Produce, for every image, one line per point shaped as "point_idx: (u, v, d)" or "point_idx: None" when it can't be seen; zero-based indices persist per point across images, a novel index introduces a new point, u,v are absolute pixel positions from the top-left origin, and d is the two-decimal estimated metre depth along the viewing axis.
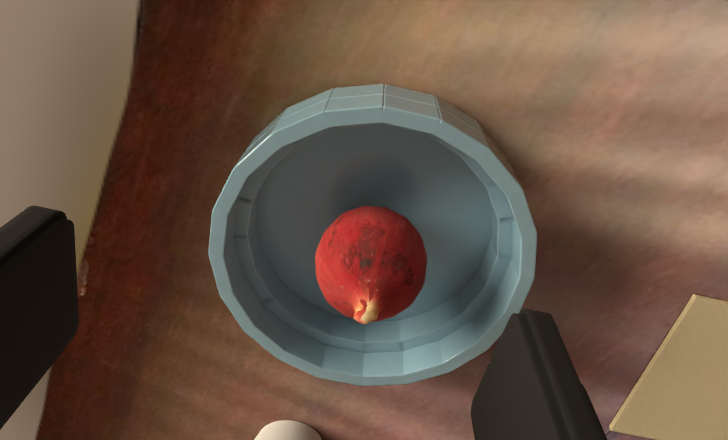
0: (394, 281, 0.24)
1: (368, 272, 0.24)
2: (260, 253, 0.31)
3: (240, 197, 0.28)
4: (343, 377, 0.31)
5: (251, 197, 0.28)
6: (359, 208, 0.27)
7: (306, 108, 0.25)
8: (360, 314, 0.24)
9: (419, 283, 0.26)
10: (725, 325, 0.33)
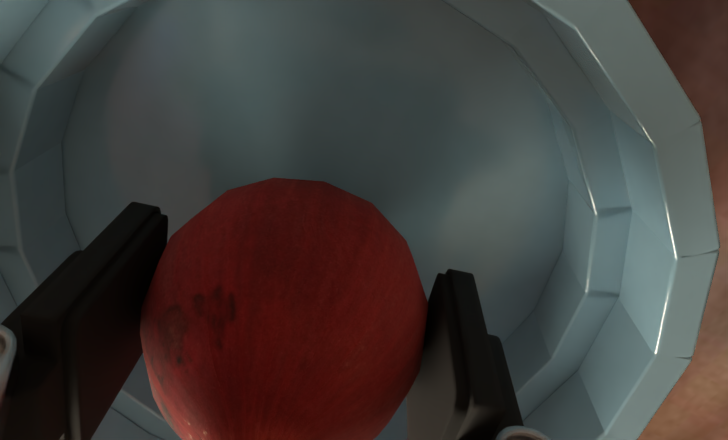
0: (199, 369, 0.08)
1: (178, 426, 0.09)
2: None
3: None
4: (647, 395, 0.11)
5: None
6: None
7: None
8: None
9: (264, 260, 0.09)
10: None
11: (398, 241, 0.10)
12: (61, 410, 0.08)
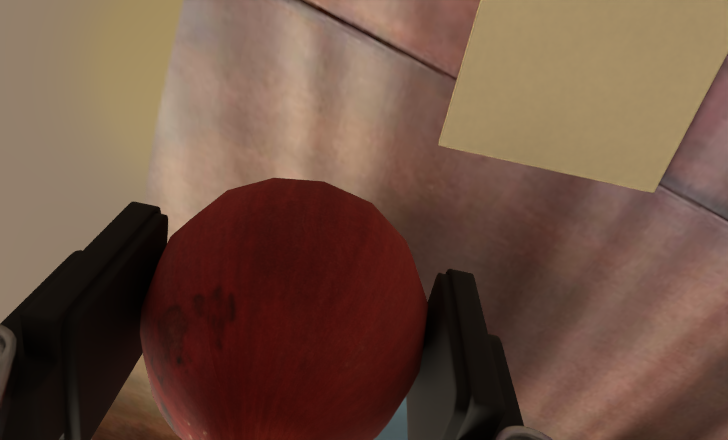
0: (199, 369, 0.08)
1: (179, 427, 0.09)
2: None
3: None
4: None
5: None
6: None
7: None
8: None
9: (265, 260, 0.09)
10: (481, 101, 0.27)
11: (398, 241, 0.10)
12: (62, 409, 0.08)
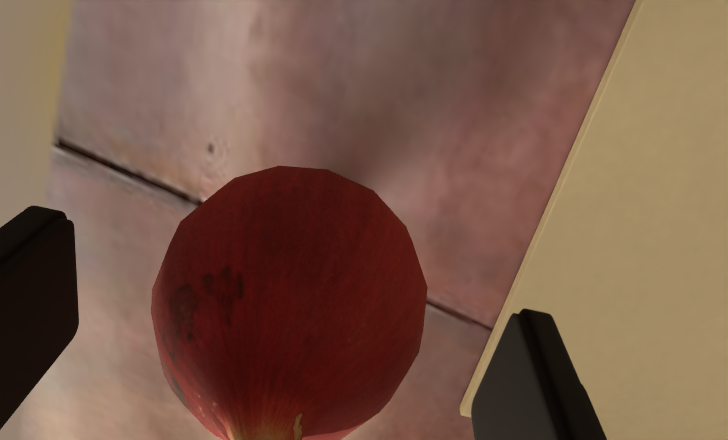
0: (209, 343, 0.09)
1: (189, 400, 0.09)
2: None
3: None
4: None
5: None
6: None
7: None
8: None
9: (271, 242, 0.09)
10: None
11: (398, 226, 0.11)
12: None
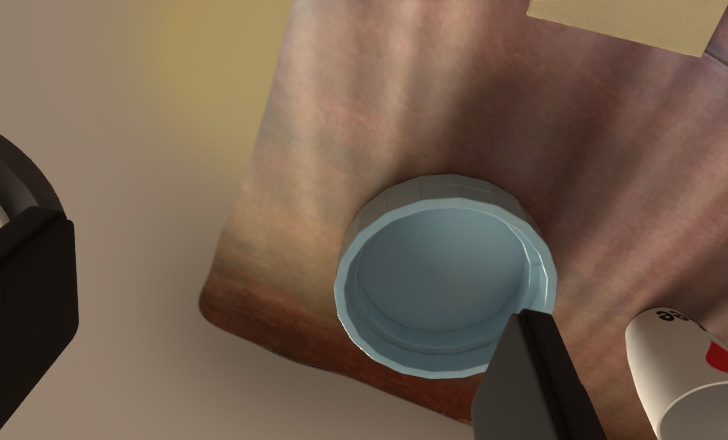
0: None
1: None
2: (453, 335, 0.46)
3: (403, 348, 0.45)
4: None
5: (404, 341, 0.45)
6: None
7: None
8: None
9: None
10: None
11: None
12: None
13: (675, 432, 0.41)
